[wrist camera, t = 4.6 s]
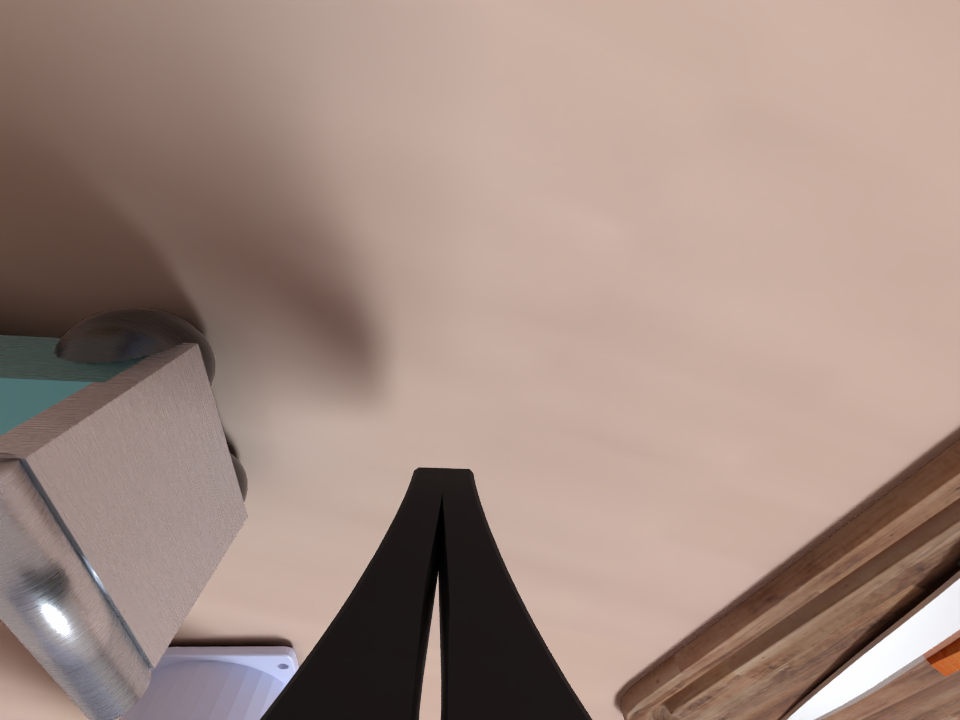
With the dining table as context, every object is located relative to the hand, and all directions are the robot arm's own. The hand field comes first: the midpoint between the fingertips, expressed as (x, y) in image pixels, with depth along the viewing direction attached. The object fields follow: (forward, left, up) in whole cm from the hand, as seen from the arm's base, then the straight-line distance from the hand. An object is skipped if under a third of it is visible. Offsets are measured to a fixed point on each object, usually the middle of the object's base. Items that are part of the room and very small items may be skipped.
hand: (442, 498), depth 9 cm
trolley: (0, +11, -3) cm, 11 cm away
